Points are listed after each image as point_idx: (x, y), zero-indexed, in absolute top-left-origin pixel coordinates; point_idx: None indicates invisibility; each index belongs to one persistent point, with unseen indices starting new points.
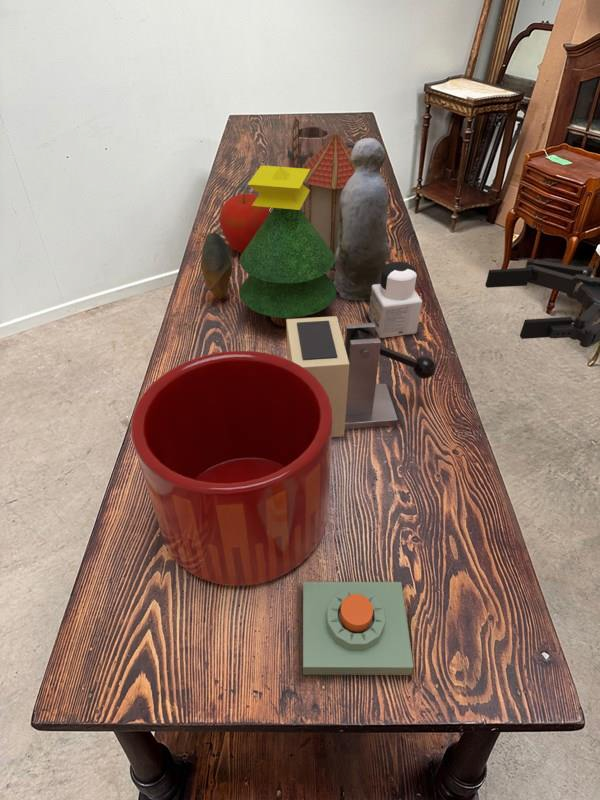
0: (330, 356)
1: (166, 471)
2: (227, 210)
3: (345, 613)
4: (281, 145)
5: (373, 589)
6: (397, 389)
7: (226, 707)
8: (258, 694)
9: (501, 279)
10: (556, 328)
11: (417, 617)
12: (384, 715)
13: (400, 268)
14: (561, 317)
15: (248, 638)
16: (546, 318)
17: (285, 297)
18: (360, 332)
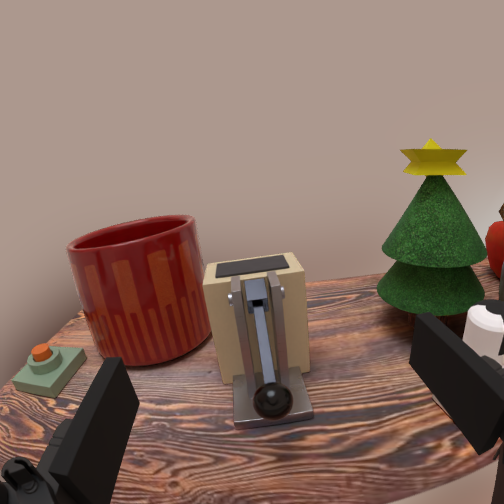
0: (216, 273)
1: (102, 229)
2: (491, 225)
3: (41, 344)
4: None
5: (55, 374)
6: (315, 431)
7: (57, 335)
8: (54, 343)
9: (434, 363)
10: (63, 428)
11: (36, 402)
12: (13, 377)
13: (495, 309)
14: (80, 445)
15: (78, 340)
16: (97, 402)
17: (393, 276)
18: (260, 281)
